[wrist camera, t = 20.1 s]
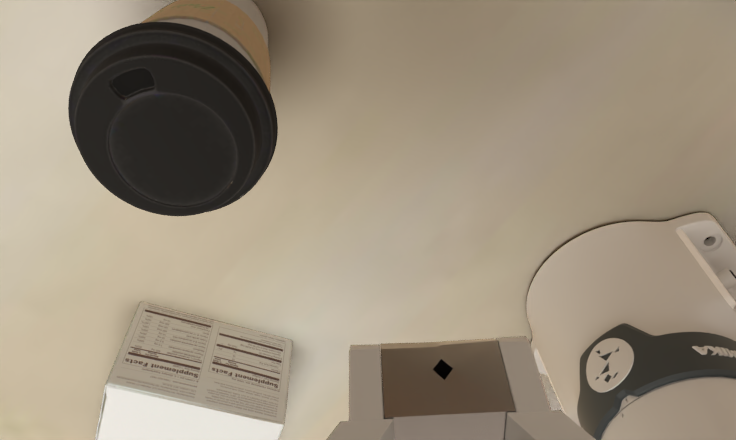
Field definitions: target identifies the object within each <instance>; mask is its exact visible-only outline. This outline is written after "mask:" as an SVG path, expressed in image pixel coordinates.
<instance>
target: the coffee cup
mask: <svg viewBox="0 0 736 440" xmlns="http://www.w3.org/2000/svg"><path fill="white" fill-rule="evenodd" d="M68 109H69V121H70V126H71V130H72V134H73V137H74V140H75V142H76V144H77V147H78V149H79V151H80V153H81V155H82V157H83V159H84V161H85V163H86V165H87V166H88V168H89V169H90V171H91V172H92V173H93V175H94V176H95V177H96V178H97V180H98V181H99V182H100V183H101V184H102V185H103V186H104V187H105V188H107V189H108V190H109V191H110V192H111V193H113V194H114V195H115V196H117V197H118V198H120V199H121V200H123V201H125V202H127V203H129V204H131V205H133V206H135V207H137V208H140V209H142V210H145V211H148V212H152V213H156V214H161V215H168V216H188V215H195V214H200V213H204V212H209V211H213V210H216V209H219V208H222V207H225V206H227V205H229V204H231V203H233V202H235V201H236V200H238V199H240V198H241V197H242V196H244V195H245V194H246V193H247V192H248V191H250V190H251V189H252V188H253V186H254V185H255V184H256V183H257V182H258V180H259V179H260V178H261V176H262V175H263V173H264V172H265V171H266V169H267V167H268V166H269V163H270V161H271V159H272V157H273V154H274V151H275V147H276V142H277V130H278V127H277V116H276V110H275V107H274V103H273V100H272V97H271V94H270V57H269V53H268V31H267V26H266V23H265V20H264V18H263V15H262V14H261V12H260V10H259V9H258V7H257V6H256V4H255V3H254V2H253V1H252V0H178V1H175V2H173V3H171V4H169V5H168V6H166V7H164V8H162V9H161V10H159V11H158V12H157V13H155V14H154V15H152V16H151V17H149V18H148V19H146V20H145V21H143V22H142V23H140V24H135V25H131V26H128V27H125V28H122V29H120V30H117V31H115V32H113V33H111V34H110V35H108V36H106V37H105V38H103V39H102V40H101V41H99V42H98V43H97V44H96V45H95V46H94V47H93V48H92V49H91V50H90V51H89V52H88V53H87V55H86V56H85V58H84V59H83V60H82V62H81V64H80V66H79V68H78V70H77V72H76V75H75V78H74V81H73V83H72V87H71V91H70V96H69V107H68Z"/></svg>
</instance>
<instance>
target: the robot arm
mask: <svg viewBox="0 0 736 440" xmlns="http://www.w3.org/2000/svg"><path fill="white" fill-rule="evenodd" d="M708 237H710V238H709V239H708V240H705V239H706V238H708ZM526 311H527V317H528V321H529V324H530V327H531V331H532V337H533V338H532V341H531V345H530V342H529V340H528V339H527V338H526V337H525V336H520V337H504V338H496V339H494V338H491V339H475V340H458V341H442V342H424V343H388V344H380V345H350V350H349V421H342V422H340V423H339V424H338V425H337V426H336V428H335V429H334V430H333V432H332V433H331V434H330V435H329V437H328V438H327V439H326V440H736V245H735V244H734V243H733V241H732V240H731V239H730V237H729V236H728V235H727V234H726V232H725V231H724V230H723V228H722V227H721V226H720V224H719V223H718V222H717V220H716V219H715V218H714V217H713V216H712V215H711V214H709V213H694V214H690V215H686V216H682V217H679V218H676V219H672V220H669V221H663V222H644V221H634V222H623V223H616V224H611V225H607V226H603V227H600V228H597V229H594V230H592V231H589V232H587V233H585V234H582V235H580V236H578V237H577V238H575V239H573V240H571V241H570V242H568V243H567V244H565V245H564V246H562V247H561V248H560V249H558V250H557V251H556V252H555V253H554V254H553V255H552V256H551V257H550V258H549V259H548V260H547V261H546V262H545V263H544V264H543V265H542V267H541V268H540V269H539V271H538V272H537V274H536V275H535V277H534V279H533V281H532V283H531V286H530V288H529V292H528V296H527V303H526ZM380 347H381V357H380ZM381 369H382V373H381ZM540 373H541V374H544V375H547V376H548V378H549V380H550V383H551V385H552V387H553V390H554V392H555V394H556V396H557V399H558V401H559V403H560V405H561V408H562V410H563V412H564V413H563V412H562V411H561V410H557V411H551V407H550V404H549V401H548V398H547V395H546V392H545V389H544V386H543V383H542V379H541V376H540Z"/></svg>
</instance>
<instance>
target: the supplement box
mask: <svg viewBox="0 0 736 440" xmlns="http://www.w3.org/2000/svg"><path fill="white" fill-rule="evenodd" d="M292 343H293V341H292V340H289V339H286V338H282V337H278V336H275V335H271V334H267V333H263V332H259V331H255V330H251V329H247V328H243V327H239V326H235V325H231V324H227V323H223V322H219V321H215V320H211V319H208V318H204V317H200V316H196V315H192V314H188V313H184V312H180V311H176V310H172V309H168V308H164V307H161V306H157V305H153V304H149V303H146V302H142V301H141V302H140V304H139V306H138V308H137V310H136V313H135V315H134V317H133V320H132V322H131V324H130V327H129V329H128V331H127V334H126V336H125V338H124V341H123V343H122V345H121V348H120V350H119V353H118V355H117V357H116V360H115V362H114V365H113V367H112V369H111V372H110V374H109V377H108V379H107V382H106V384H105V389H104V394H103V400H102V405H101V411H100V416H99V421H98V426H97V431H96V437H95V440H278V439H279V437H280V435H281V432H282V430H283V427H284V423H285V414H286V408H287V397H288V384H289V374H290V364H291V353H292Z"/></svg>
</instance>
